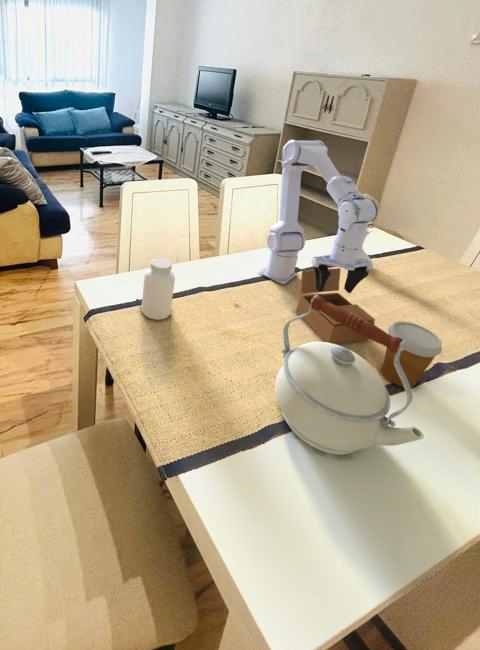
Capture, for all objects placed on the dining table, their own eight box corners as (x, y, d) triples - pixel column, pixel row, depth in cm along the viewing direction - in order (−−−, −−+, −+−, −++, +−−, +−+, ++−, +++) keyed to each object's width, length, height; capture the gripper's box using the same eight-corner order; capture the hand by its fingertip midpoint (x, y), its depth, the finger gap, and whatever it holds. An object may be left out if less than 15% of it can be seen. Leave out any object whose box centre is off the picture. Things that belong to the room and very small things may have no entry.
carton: (295, 312, 107) (300, 293, 105) (332, 308, 110) (338, 289, 107) (327, 344, 95) (334, 324, 93) (368, 339, 98) (376, 319, 96)
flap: (301, 293, 105) (300, 293, 105) (338, 290, 107) (337, 290, 108) (302, 271, 104) (301, 270, 104) (340, 268, 106) (339, 268, 107)
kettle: (244, 403, 78) (268, 300, 68) (293, 365, 88) (321, 272, 79) (377, 517, 59) (436, 398, 50) (420, 453, 70) (476, 344, 60)
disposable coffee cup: (414, 367, 90) (433, 326, 85) (430, 399, 81) (452, 355, 77) (368, 356, 92) (384, 315, 88) (379, 386, 84) (397, 342, 79)
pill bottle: (174, 307, 106) (180, 260, 100) (164, 324, 99) (171, 274, 94) (147, 299, 109) (152, 252, 103) (136, 314, 102) (140, 266, 96)
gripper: (326, 250, 92) (313, 298, 97) (386, 253, 93) (369, 300, 98) (313, 237, 99) (300, 282, 104) (368, 240, 99) (353, 285, 104)
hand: (333, 290), depth 101 cm, fingers open, 7 cm apart
